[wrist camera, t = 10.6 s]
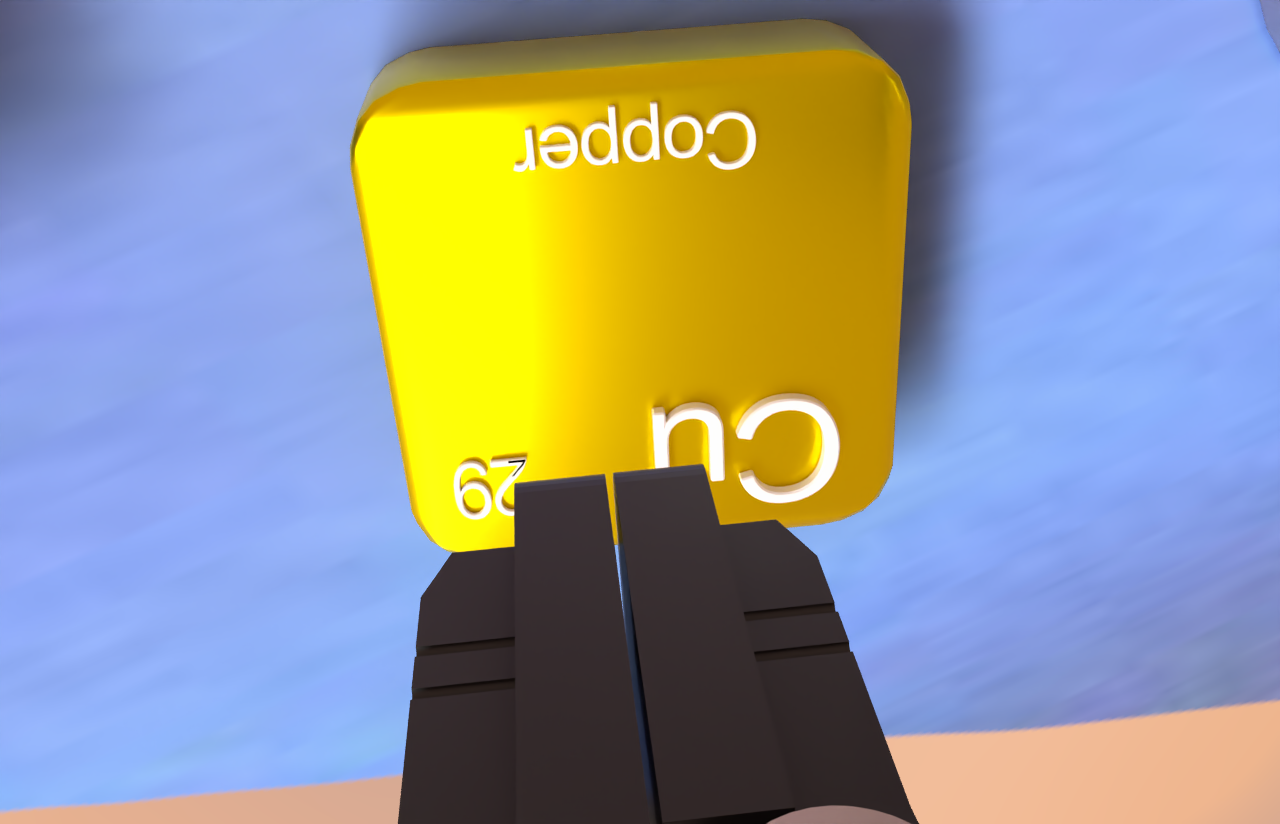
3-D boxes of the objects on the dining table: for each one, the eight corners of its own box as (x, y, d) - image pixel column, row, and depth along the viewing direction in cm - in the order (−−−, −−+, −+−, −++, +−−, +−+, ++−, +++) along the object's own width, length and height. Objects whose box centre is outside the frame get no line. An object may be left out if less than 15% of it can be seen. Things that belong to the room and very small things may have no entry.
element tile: (876, 9, 35) (926, 47, 31) (859, 452, 42) (896, 531, 38) (352, 49, 34) (331, 94, 30) (428, 493, 42) (418, 578, 38)
